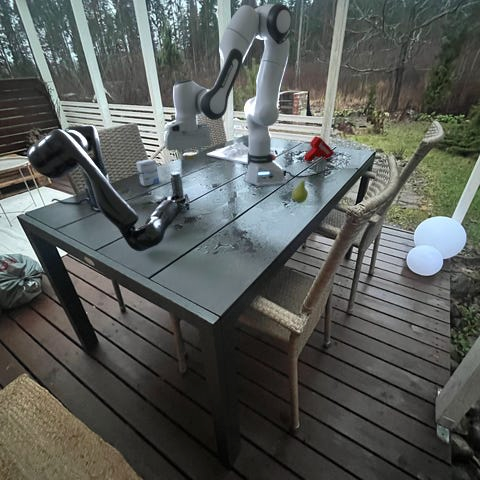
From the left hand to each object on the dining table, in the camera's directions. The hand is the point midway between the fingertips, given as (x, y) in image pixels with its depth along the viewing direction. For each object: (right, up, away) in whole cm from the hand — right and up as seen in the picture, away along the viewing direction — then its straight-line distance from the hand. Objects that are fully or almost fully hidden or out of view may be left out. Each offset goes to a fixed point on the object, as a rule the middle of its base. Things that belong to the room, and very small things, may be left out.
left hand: (180, 195), depth 113 cm
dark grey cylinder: (0, -7, +1) cm, 7 cm away
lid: (+3, +19, +6) cm, 20 cm away
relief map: (+24, +40, +73) cm, 86 cm away
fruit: (+51, -2, +8) cm, 52 cm away
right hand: (+3, +18, +7) cm, 19 cm away
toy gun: (+75, +32, +61) cm, 102 cm away
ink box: (-22, +11, +29) cm, 38 cm away
